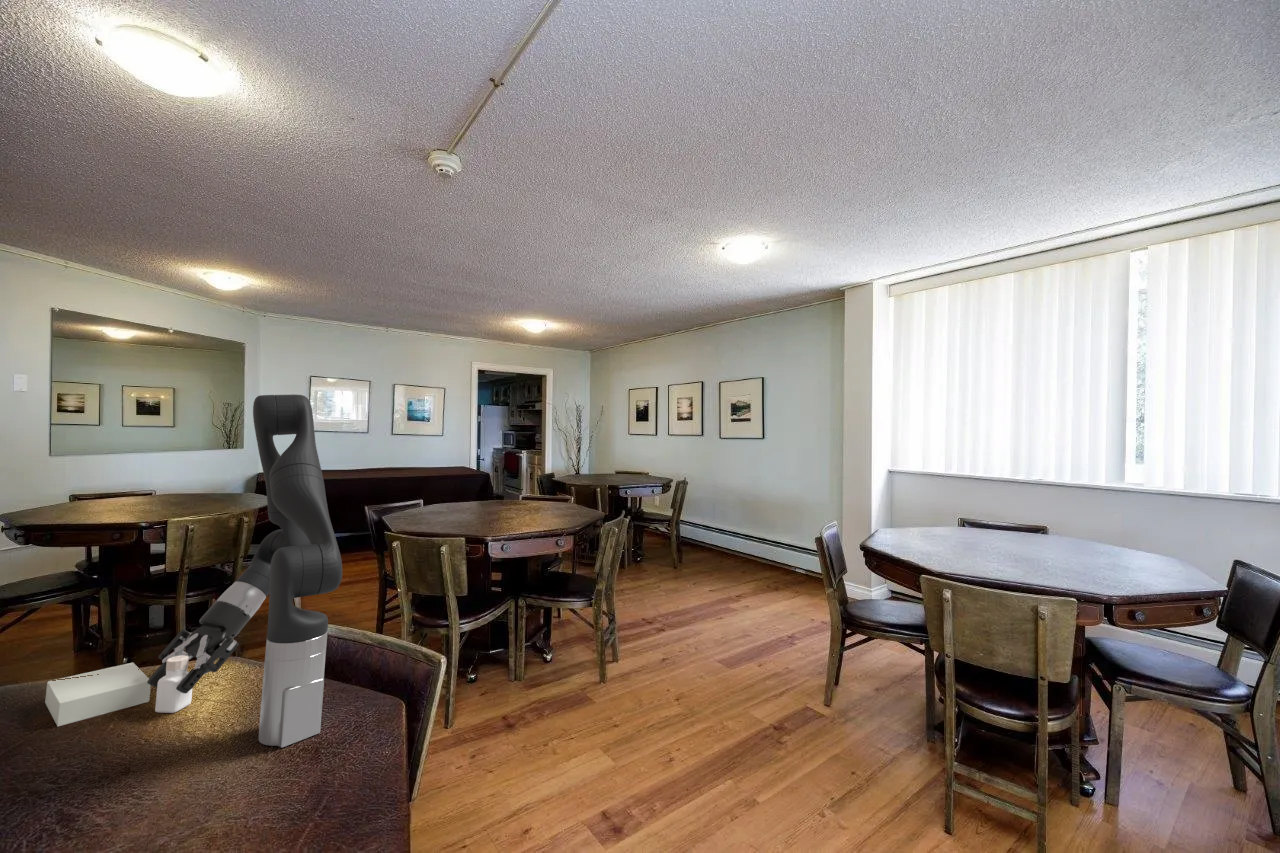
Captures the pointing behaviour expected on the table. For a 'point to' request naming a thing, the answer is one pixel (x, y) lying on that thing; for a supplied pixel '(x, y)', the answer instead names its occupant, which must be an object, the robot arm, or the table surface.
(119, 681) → the platform
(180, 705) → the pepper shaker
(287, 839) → the table surface
